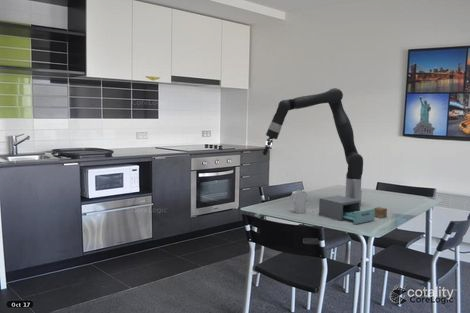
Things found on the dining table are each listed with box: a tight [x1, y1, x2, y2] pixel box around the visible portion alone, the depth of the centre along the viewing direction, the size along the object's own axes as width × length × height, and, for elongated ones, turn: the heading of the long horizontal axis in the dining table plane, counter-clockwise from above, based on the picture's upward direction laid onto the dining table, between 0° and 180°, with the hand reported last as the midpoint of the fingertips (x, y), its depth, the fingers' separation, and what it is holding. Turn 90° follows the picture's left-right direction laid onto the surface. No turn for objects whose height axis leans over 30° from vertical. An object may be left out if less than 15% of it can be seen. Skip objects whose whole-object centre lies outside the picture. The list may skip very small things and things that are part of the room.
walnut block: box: [373, 206, 388, 219], centre depth 239 cm, size 5×5×5 cm
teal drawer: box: [343, 208, 376, 225], centre depth 232 cm, size 16×16×6 cm
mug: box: [289, 190, 308, 214], centre depth 248 cm, size 10×7×12 cm, turn 52°
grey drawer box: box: [318, 194, 362, 222], centre depth 239 cm, size 16×16×10 cm
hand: (264, 154), depth 267 cm, fingers open, 8 cm apart
